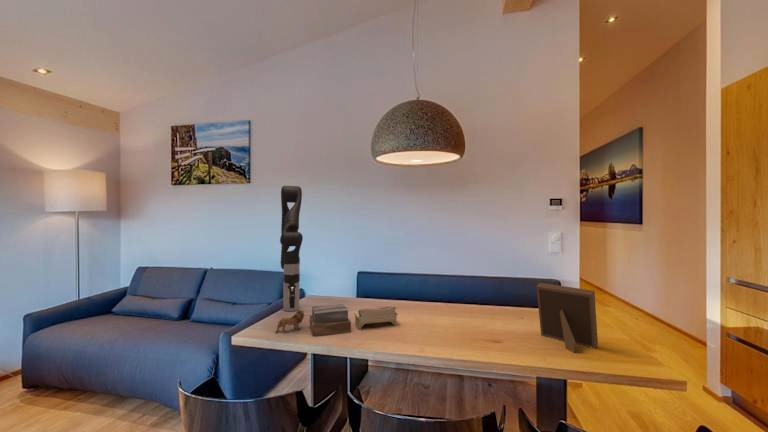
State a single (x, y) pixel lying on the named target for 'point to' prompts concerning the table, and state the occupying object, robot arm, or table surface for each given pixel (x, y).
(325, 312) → the wooden box
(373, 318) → the toy sofa
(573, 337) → the photo frame
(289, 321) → the lion figurine
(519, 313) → the table surface
